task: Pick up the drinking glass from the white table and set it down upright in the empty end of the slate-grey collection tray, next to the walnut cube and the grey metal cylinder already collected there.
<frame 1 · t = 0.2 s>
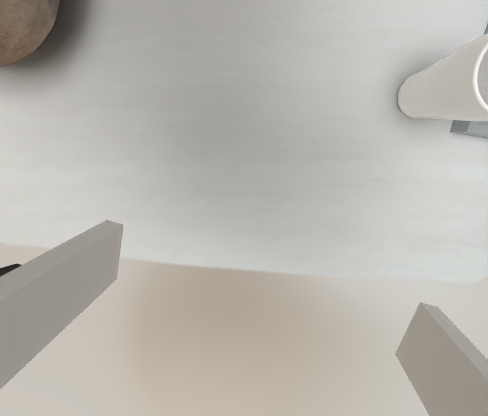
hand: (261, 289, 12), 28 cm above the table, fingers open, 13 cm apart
drinking glass: (417, 96, 35), on the table
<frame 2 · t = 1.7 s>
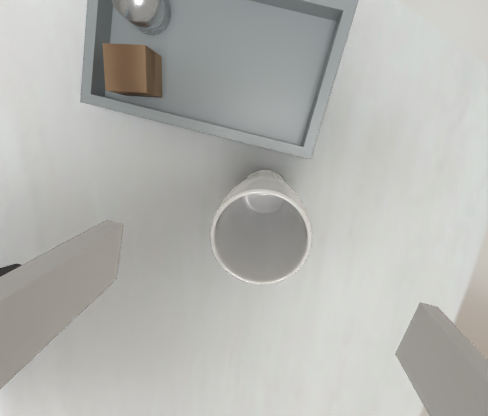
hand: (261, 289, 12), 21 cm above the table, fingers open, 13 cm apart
walnut cube: (143, 76, 30), point 1 cm above the table, touching collection tray
metal cylinder: (151, 12, 28), point 1 cm above the table, touching collection tray
collection tray: (214, 63, 29), on the table
drinking glass: (264, 191, 33), on the table
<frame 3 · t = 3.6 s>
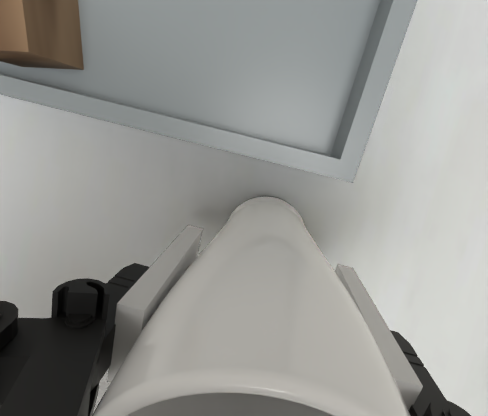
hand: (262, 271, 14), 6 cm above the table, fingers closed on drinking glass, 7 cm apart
walnut cube: (48, 31, 17), point 1 cm above the table, touching collection tray
collection tray: (174, 5, 16), on the table
drinking glass: (265, 231, 19), on the table, touching gripper
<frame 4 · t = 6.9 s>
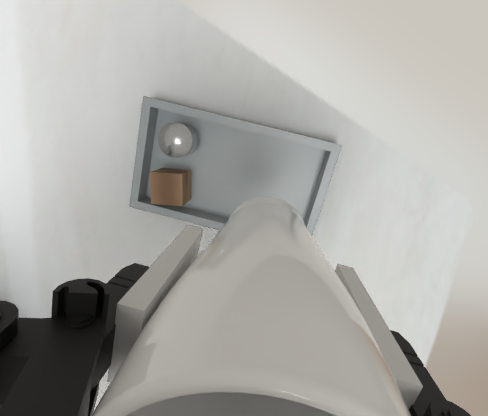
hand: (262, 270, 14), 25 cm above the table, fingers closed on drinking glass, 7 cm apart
walnut cube: (176, 183, 38), point 1 cm above the table, touching collection tray
metal cylinder: (184, 139, 37), point 1 cm above the table, touching collection tray
collection tray: (232, 174, 38), on the table
drinking glass: (265, 231, 19), point 19 cm above the table, touching gripper
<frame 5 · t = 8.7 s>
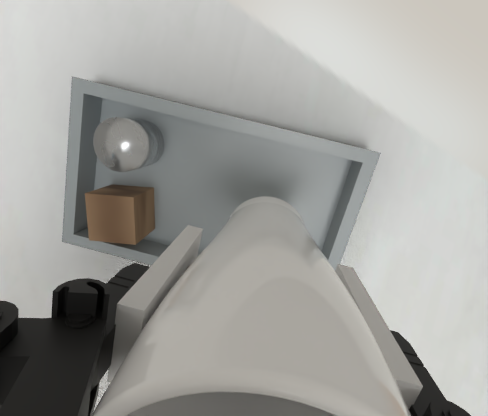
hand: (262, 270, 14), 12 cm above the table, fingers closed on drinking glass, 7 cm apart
walnut cube: (133, 206, 26), point 1 cm above the table, touching collection tray
metal cylinder: (142, 143, 25), point 1 cm above the table, touching collection tray
collection tray: (213, 193, 26), on the table
drinking glass: (265, 231, 19), point 7 cm above the table, touching gripper
when the fingers open (7 cm above the table, at t = 10.3 s): drinking glass stays where it is, resting on collection tray.
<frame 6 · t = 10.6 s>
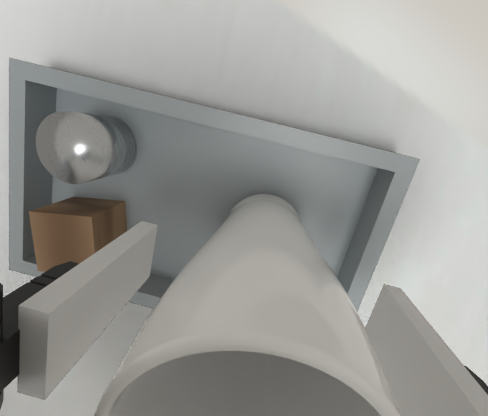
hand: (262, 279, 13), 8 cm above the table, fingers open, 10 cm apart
walnut cube: (101, 224, 21), point 1 cm above the table, touching collection tray
metal cylinder: (109, 145, 20), point 1 cm above the table, touching collection tray
collection tray: (200, 208, 21), on the table
drinking glass: (263, 227, 20), resting on collection tray
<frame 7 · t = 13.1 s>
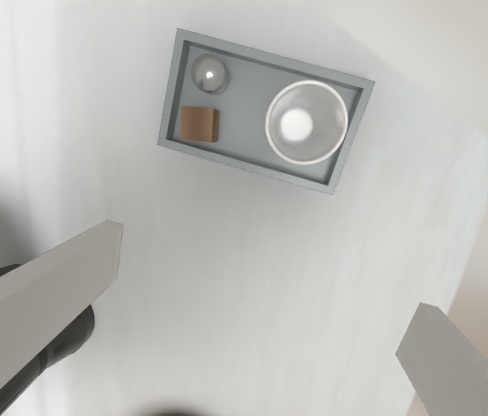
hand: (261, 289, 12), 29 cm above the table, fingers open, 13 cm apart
walnut cube: (204, 124, 38), point 1 cm above the table, touching collection tray
metal cylinder: (214, 78, 37), point 1 cm above the table, touching collection tray
collection tray: (260, 116, 38), on the table
drinking glass: (295, 126, 37), resting on collection tray
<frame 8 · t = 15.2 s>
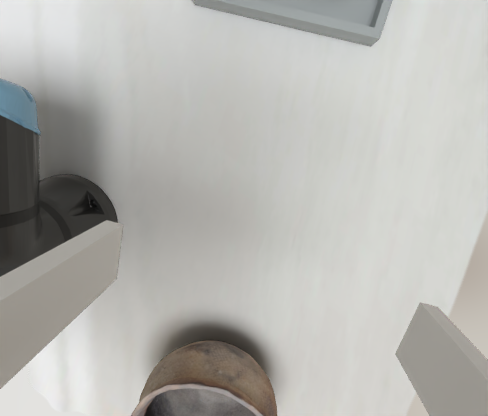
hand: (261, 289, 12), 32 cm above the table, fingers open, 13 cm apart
ceramic bowl: (219, 365, 53), on the table
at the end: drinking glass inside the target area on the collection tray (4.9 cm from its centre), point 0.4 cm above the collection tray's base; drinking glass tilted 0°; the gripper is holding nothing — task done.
